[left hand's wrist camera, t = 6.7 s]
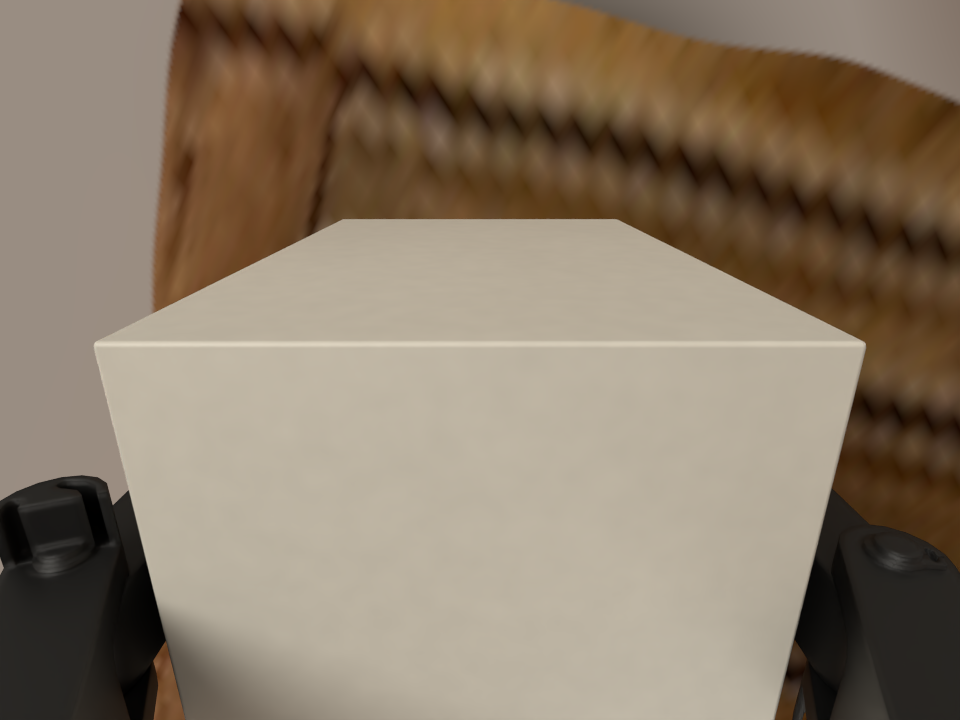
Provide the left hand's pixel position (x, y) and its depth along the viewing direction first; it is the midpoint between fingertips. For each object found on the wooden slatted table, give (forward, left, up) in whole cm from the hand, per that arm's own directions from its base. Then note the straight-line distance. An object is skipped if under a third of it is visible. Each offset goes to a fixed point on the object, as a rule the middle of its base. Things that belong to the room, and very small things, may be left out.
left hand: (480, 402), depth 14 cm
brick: (0, 0, -3) cm, 3 cm away
